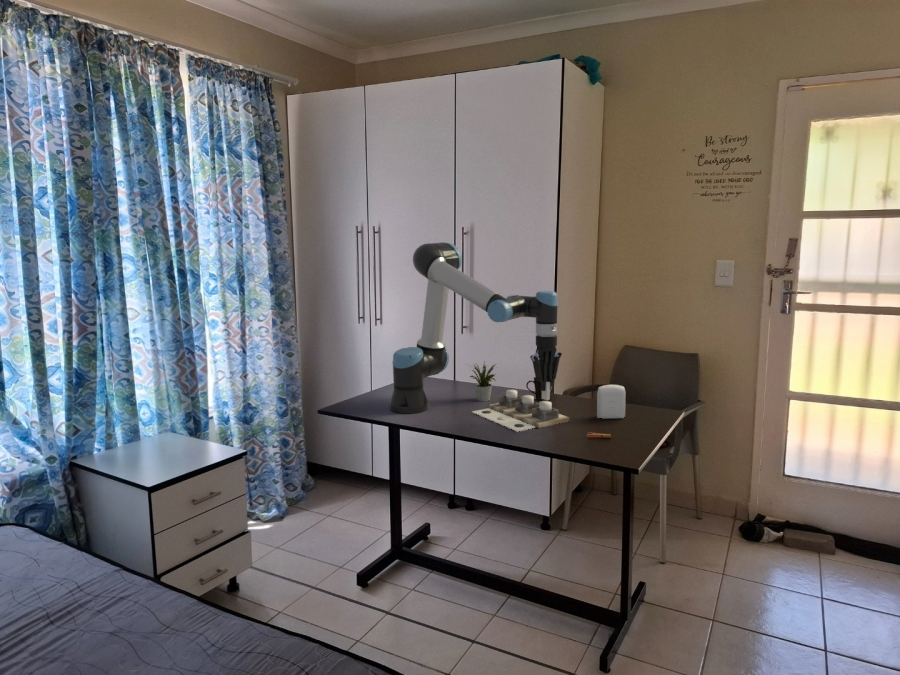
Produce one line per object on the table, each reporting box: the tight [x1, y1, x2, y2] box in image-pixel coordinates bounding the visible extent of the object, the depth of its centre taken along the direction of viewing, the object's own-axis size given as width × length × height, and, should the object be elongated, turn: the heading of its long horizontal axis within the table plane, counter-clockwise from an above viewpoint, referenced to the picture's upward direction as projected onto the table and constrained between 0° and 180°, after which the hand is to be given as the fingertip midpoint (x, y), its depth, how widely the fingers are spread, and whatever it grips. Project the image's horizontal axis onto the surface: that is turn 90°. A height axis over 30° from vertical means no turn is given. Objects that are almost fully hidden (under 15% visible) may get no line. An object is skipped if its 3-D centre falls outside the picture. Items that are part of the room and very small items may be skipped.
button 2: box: [538, 401, 553, 412], centre depth 230 cm, size 4×4×4 cm
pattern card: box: [471, 407, 536, 433], centre depth 233 cm, size 28×8×1 cm, turn 32°
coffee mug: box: [525, 374, 555, 403], centre depth 258 cm, size 12×9×10 cm
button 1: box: [505, 389, 518, 400], centre depth 246 cm, size 4×4×4 cm
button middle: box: [521, 394, 535, 406], centre depth 238 cm, size 4×4×4 cm
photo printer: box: [596, 384, 627, 419], centre depth 233 cm, size 10×4×12 cm, turn 89°
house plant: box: [464, 361, 498, 402], centre depth 258 cm, size 14×14×16 cm
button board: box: [489, 395, 570, 429], centre depth 239 cm, size 30×14×4 cm, turn 32°
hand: (545, 399), depth 229 cm, fingers closed
